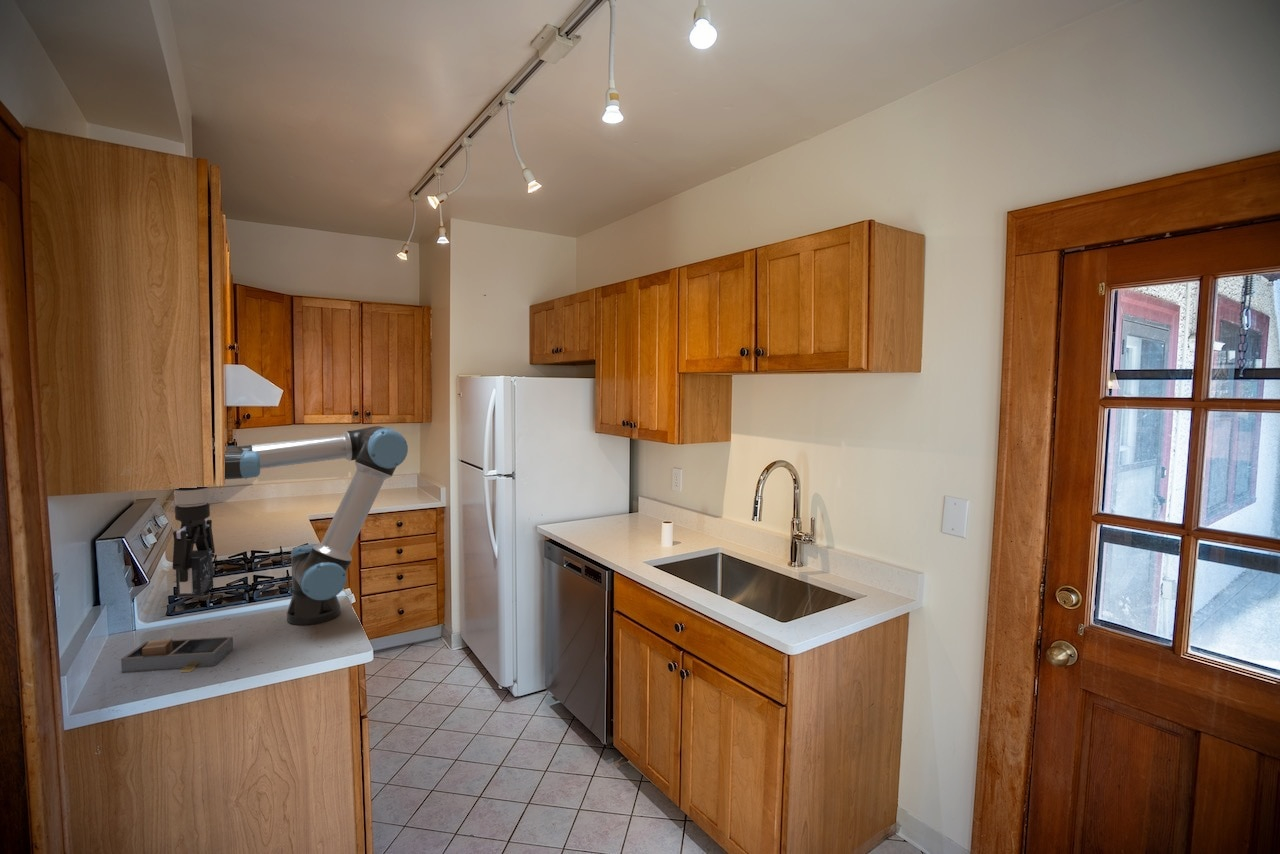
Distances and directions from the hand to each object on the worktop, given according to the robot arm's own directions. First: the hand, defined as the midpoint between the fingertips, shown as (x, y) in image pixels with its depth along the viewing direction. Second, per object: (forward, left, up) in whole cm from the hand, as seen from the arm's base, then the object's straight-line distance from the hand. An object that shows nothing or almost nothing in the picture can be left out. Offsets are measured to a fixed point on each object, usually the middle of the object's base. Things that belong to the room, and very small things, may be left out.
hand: (195, 587), depth 167 cm
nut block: (+1, -9, -20) cm, 22 cm away
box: (0, 0, -2) cm, 2 cm away
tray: (+3, -4, -19) cm, 20 cm away
